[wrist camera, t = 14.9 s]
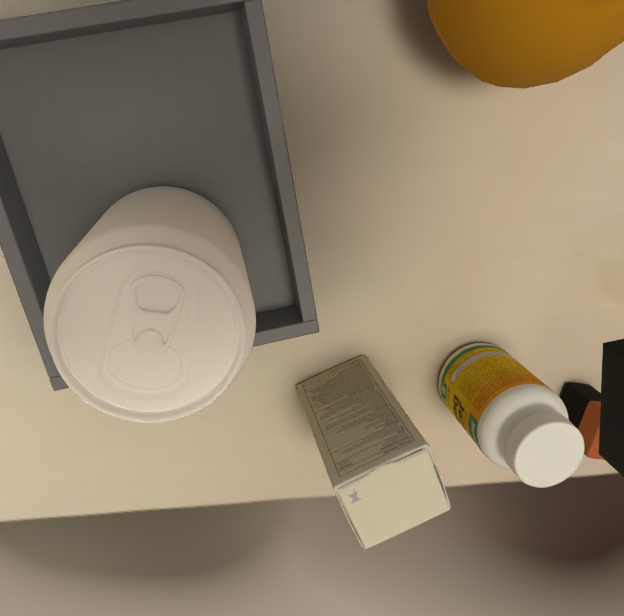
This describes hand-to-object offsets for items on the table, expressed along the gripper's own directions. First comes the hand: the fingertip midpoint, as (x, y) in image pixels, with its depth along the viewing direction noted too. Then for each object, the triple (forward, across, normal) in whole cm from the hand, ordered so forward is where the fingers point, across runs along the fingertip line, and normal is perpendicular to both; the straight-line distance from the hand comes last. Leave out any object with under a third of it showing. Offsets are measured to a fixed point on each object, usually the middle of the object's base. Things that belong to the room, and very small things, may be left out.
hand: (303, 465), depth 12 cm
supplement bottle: (+24, +14, -13) cm, 30 cm away
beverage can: (+23, -4, -1) cm, 24 cm away
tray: (+24, -4, +3) cm, 24 cm away
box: (+24, +4, -12) cm, 27 cm away
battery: (+24, +20, -17) cm, 36 cm away
